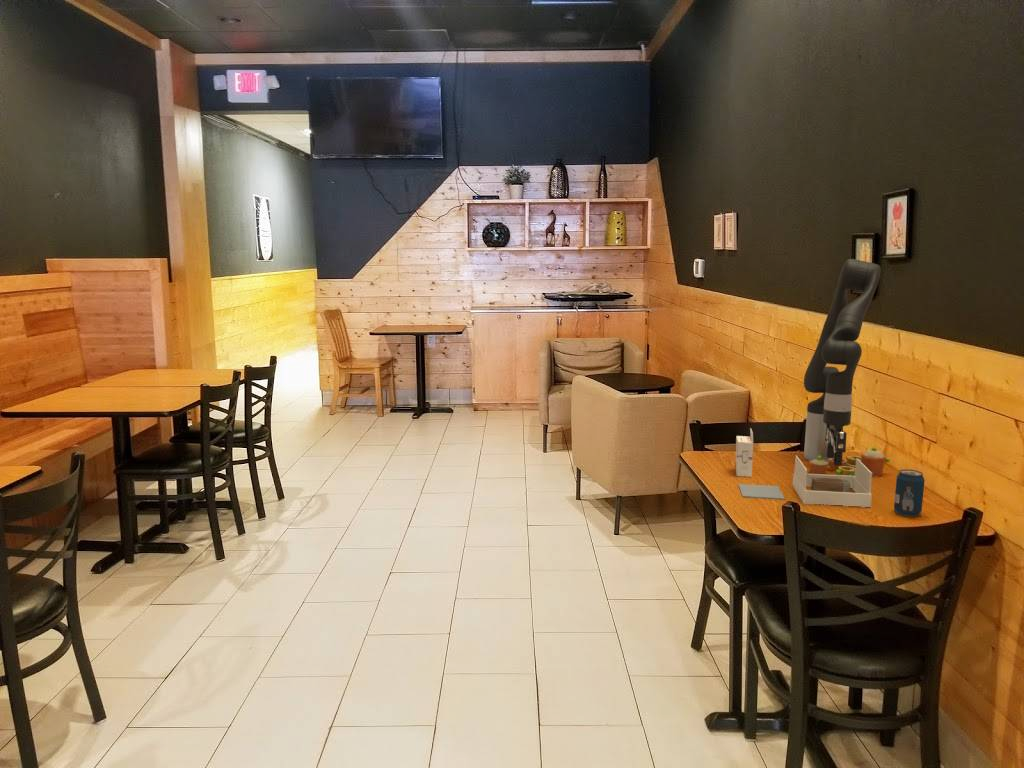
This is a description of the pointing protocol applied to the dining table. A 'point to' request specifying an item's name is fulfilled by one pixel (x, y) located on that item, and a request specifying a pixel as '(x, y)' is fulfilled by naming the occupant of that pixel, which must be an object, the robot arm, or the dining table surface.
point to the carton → (858, 483)
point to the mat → (760, 491)
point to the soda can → (909, 492)
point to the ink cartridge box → (744, 455)
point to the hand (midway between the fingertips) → (833, 461)
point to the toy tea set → (851, 464)
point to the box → (830, 484)
